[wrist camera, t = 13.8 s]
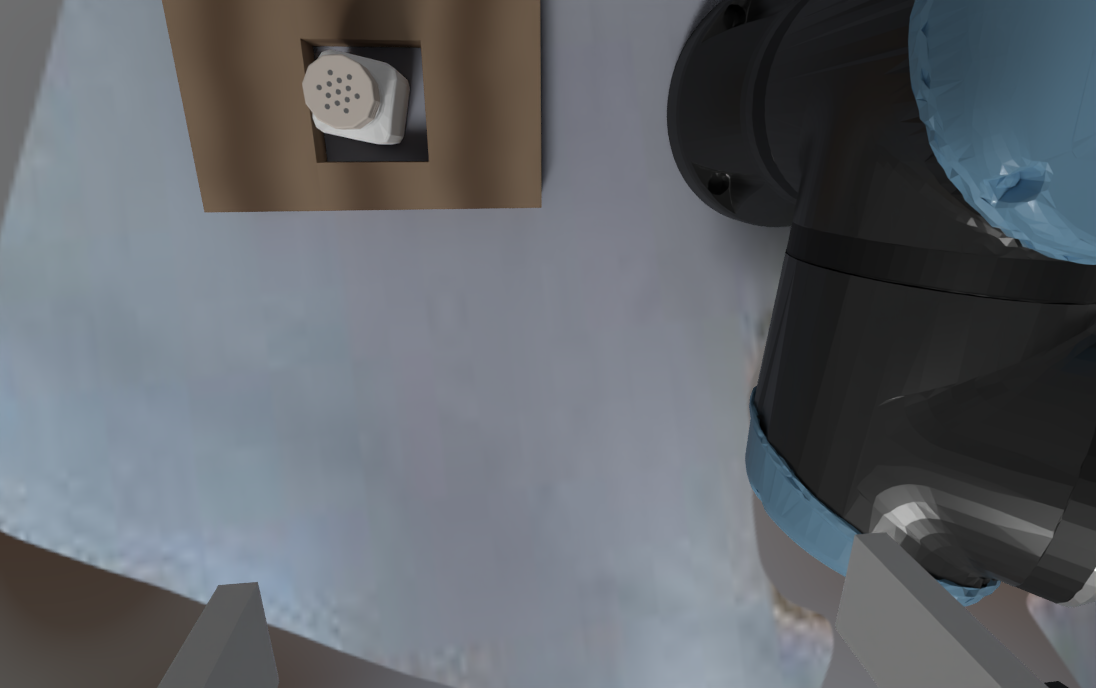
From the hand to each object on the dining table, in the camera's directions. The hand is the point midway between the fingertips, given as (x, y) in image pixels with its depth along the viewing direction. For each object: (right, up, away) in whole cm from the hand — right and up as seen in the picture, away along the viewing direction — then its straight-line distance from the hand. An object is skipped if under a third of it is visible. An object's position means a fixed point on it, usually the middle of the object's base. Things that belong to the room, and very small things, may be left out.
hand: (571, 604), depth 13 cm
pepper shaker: (-11, +21, +22) cm, 32 cm away
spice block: (-11, +20, +22) cm, 32 cm away
